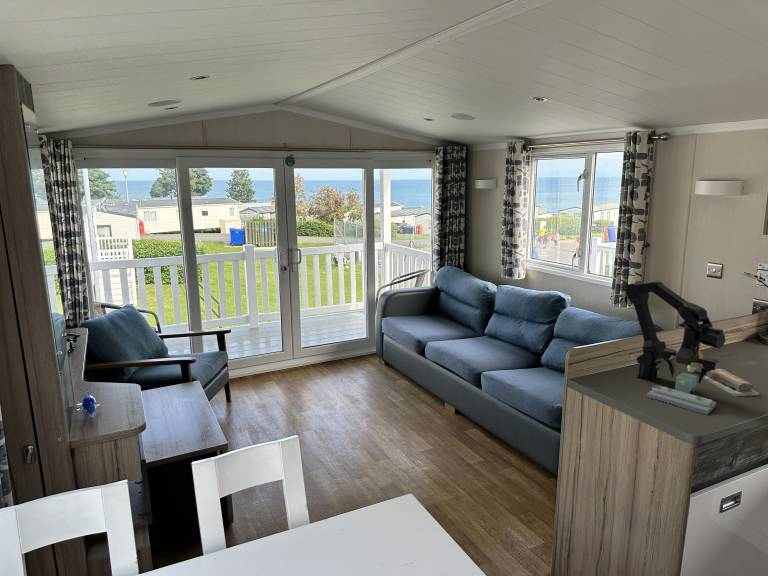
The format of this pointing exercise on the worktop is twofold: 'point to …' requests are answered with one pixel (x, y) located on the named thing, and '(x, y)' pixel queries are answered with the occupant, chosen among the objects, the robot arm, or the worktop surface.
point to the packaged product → (730, 383)
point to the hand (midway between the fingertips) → (685, 379)
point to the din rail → (682, 395)
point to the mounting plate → (681, 402)
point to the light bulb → (693, 365)
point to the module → (685, 383)
